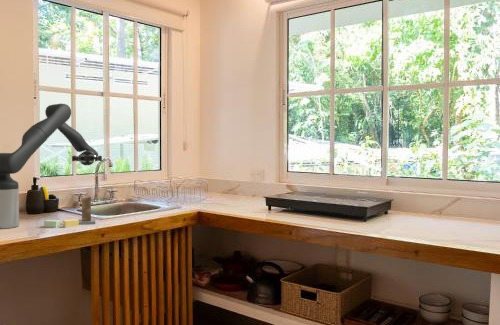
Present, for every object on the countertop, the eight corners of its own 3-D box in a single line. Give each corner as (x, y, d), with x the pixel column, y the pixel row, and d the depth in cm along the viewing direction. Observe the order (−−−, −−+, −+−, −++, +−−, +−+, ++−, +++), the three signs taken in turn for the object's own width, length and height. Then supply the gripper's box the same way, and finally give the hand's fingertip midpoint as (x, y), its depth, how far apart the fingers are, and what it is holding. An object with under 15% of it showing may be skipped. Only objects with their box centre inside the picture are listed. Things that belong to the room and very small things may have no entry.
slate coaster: (77, 224, 206) (77, 222, 206) (77, 221, 214) (77, 219, 214) (95, 223, 209) (95, 221, 209) (95, 221, 216) (95, 218, 216)
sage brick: (43, 227, 200) (43, 220, 200) (48, 226, 203) (48, 219, 203) (56, 228, 199) (56, 221, 199) (60, 226, 202) (60, 220, 202)
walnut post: (81, 221, 209) (81, 198, 208) (81, 219, 212) (81, 196, 212) (90, 220, 210) (90, 197, 210) (90, 219, 214) (90, 196, 213)
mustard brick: (65, 228, 200) (65, 221, 199) (63, 227, 202) (62, 220, 202) (78, 226, 204) (78, 219, 204) (76, 225, 206) (76, 219, 206)
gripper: (73, 150, 233) (71, 151, 218) (101, 150, 238) (102, 151, 223) (73, 164, 234) (71, 166, 218) (101, 164, 238) (102, 166, 223)
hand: (86, 159), depth 220 cm, fingers open, 8 cm apart
